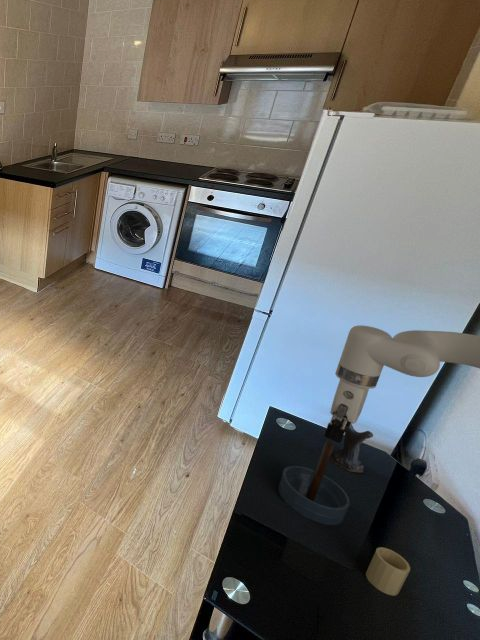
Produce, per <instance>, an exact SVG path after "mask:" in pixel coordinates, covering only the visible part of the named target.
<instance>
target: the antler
mask: <svg viewBox="0 0 480 640" xmlns="http://www.w3.org/2000/svg"><path fill="white" fill-rule="evenodd" d="M344 429H345V432H344V439H343V448H338V450H337V451H335V453H332V454H331V457H330V460H331V462H332V463H333V464H335V465H337V466H338V467H340V468H342V469H344V470H346V471H348V472H351V473H364V467H365V466H364V465H363V464H362V461H361V460H359V455H360V446H361V444H362V443H363V442H365V441H366V440H367V439H371V438H373V437H374V434H373V432H371V431H370V430H366V431H362V432H358V431H357V430H356V429H355V428H354V426H353V424H352V423H350V426H349V427H347V426H345V428H344Z"/></svg>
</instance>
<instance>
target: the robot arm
mask: <svg viewBox="0 0 480 640" xmlns="http://www.w3.org/2000/svg"><path fill="white" fill-rule="evenodd" d="M441 363H451V364H459V365H464V366H469V367H473V368H476V369H480V335H476V334H471V333H465V332H457V331H441V330H423V329H422V330H420V329H419V330H418V329H415V330H414V329H413V330H412V329H411V330H404V331H401V332H399V333H396V334H395V335H393V337H392V335H391V334H389V333H388V332H387V331H385V330H383V329H381V328H377V327H374V326H369V325H361V324H360V325H354V326H353V327H352V326H351V328H350V329H349V331H348V334H347V338H346V340H345V343H344V347H343V350H342V352H341V356H340V358H339V361H338V364H337V367H336V370H335V376H336V378H338V379H339V382H338V384H337V388H336V389H335V393H334V396H333V401H332V403H331V407H330V412H329V413H330V414H331V415H332V416H331V419H330V421H329V422H328V423H327V426H326V429H325V432H324V434H323V436H324V438H327V439H328V440H330V441H333V442H336V443H338V444H341V443H342V440H343V437H344V436H345V429H344V428H345V426H347V427H349V426H350V423H351V424H352V425H353V424H356V423H357V421H358V420H359V418H360V415H361V413H362V411H363V408H364V405H365V402H366V400H367V396H368V394H369V391H370V390H372V389H375V388H377V385H378V382H379V379H380V377H381V374H382V371H383V369H384V366H385V367H388V368H389V369H392V370H394V371H397V372H399V373H401V374H404V375H407V376H410V377H416V378H428V377H432V376H433V375H435V374H437V372H438V371H439V369H440V367H441V366H440V365H441Z"/></svg>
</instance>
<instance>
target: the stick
mask: <svg viewBox="0 0 480 640" xmlns="http://www.w3.org/2000/svg"><path fill="white" fill-rule="evenodd" d="M335 446H336V444H335V443H334V441H333V442H332V440H326V441H325V442H324V446H323V448H322V451H321V453H320V456H319V459H318V462H317V464H316V468H315V473H314V475H313V478H312V481H311V484H310V486H309V489H308V492H307V495H306V498H308V499H309V500H312V501H314V499H315V497H316V494H317V491H318V489H319V486H320V483H321V481H322V478H323V475H325V473H326V471H327V470H326V469H327V468H328V464H329V462H330V460H331V458H332V454H333V452H334V449H335Z"/></svg>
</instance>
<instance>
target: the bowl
mask: <svg viewBox="0 0 480 640" xmlns="http://www.w3.org/2000/svg"><path fill="white" fill-rule="evenodd" d="M315 470H316V469H315ZM315 470H314V469H312V468H309V467H305V466H300V465H289V466H287V467H285V468H284V469H283V471H282V474H281V476H280V480H279V483H278V487H277V489H278V493H279V495H280V497H281V498H282V499H283V501H284V502H285V504H287V505H288V506H289V507H290V508H291V509H292V510H293V511H294V512H297V513H298V514H300V515H301V516H302V517H304V518H306V519H309V520H310V521H313V522H315V523H318V524H322V525H327V526H338V525H341V524H342V523H343V522H344V520H345V518H346V516H347V513H348V510H349V508H350V505H351V500H350V498H349V496H348V495H349V494H348V493H347V492H346V490H344V489H343V488H342V486H341V485H339V484H338V483H337V482H336V481H335V480H333V479H332V478H330V477H328V476H326V475H325V474H324V475H323V478H322V481H321V483H320V486H319V489H318V491H317V494H316V497H315V499H314V501H312V500H309V499H308V498H306V495H307V492H308V489H309V486H310V484H311V481H312V478H313V475H314V473H315Z"/></svg>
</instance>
